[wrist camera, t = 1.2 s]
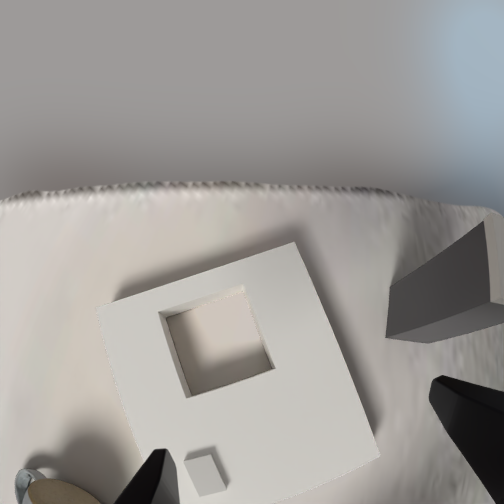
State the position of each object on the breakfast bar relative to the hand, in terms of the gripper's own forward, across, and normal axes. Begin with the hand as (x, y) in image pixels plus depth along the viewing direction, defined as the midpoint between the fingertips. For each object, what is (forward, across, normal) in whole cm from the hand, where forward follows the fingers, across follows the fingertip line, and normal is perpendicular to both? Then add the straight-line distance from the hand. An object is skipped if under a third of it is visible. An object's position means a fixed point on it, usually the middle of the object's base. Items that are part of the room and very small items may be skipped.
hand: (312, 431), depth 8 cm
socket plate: (+12, +2, +8) cm, 15 cm away
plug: (+14, -13, +6) cm, 20 cm away
